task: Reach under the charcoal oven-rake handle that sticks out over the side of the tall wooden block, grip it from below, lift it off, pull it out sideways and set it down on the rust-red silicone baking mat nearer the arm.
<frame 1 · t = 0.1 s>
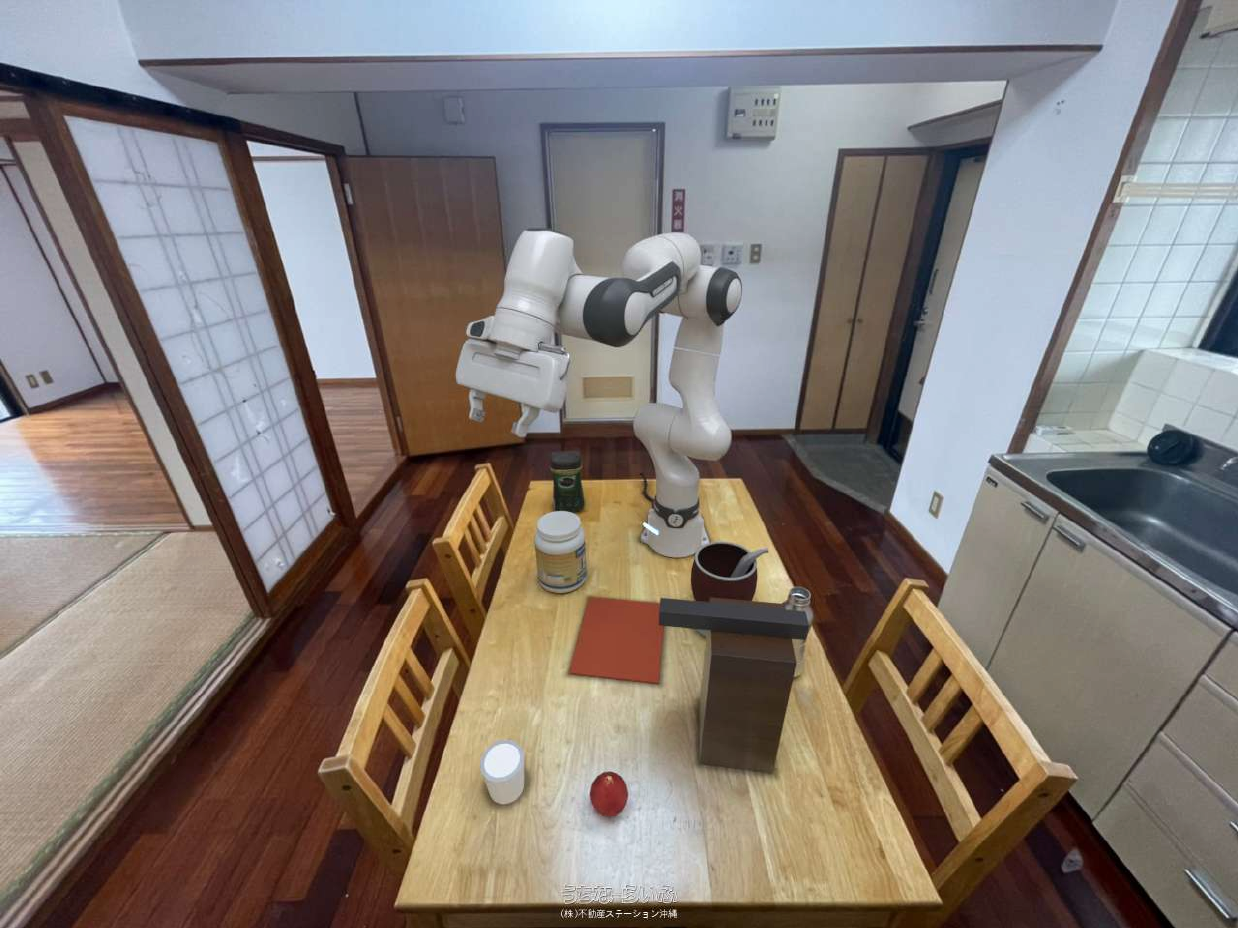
hand: (496, 428, 77), 54 cm above the table, tool tilted 30°, fingers open, 8 cm apart
mate gourd: (722, 620, 116), on the table
tall wooden block: (733, 735, 91), on the table
baking mat: (620, 637, 112), on the table
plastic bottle: (784, 669, 104), on the table
supplement tub: (562, 579, 129), on the table
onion: (609, 808, 81), on the table
white short cylinder: (507, 786, 84), on the table
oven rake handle: (730, 625, 80), point 26 cm above the table, touching tall wooden block
coffee jar: (569, 507, 159), on the table
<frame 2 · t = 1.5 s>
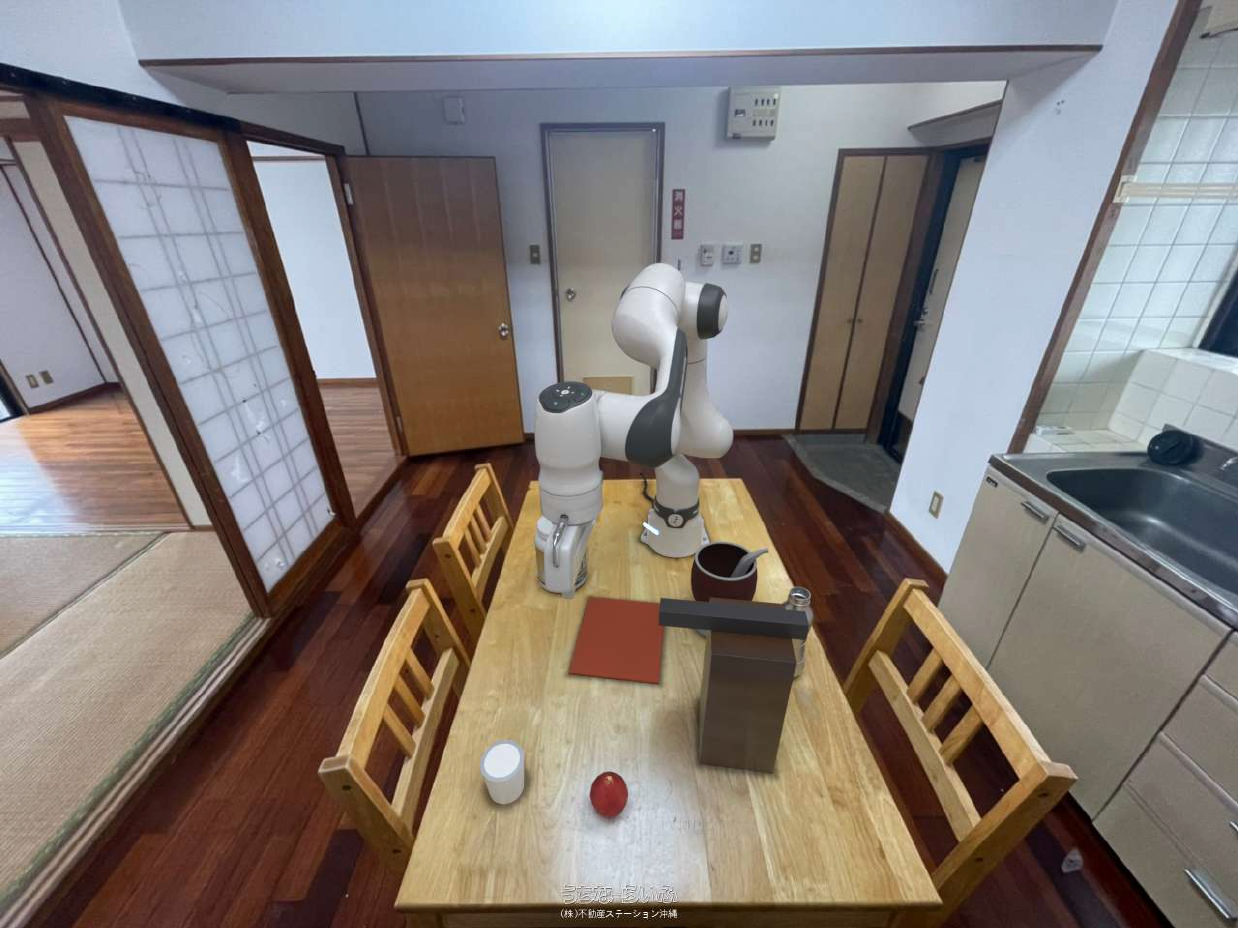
hand: (575, 574, 79), 33 cm above the table, tool pointing down, fingers open, 8 cm apart
nothing on the table moved.
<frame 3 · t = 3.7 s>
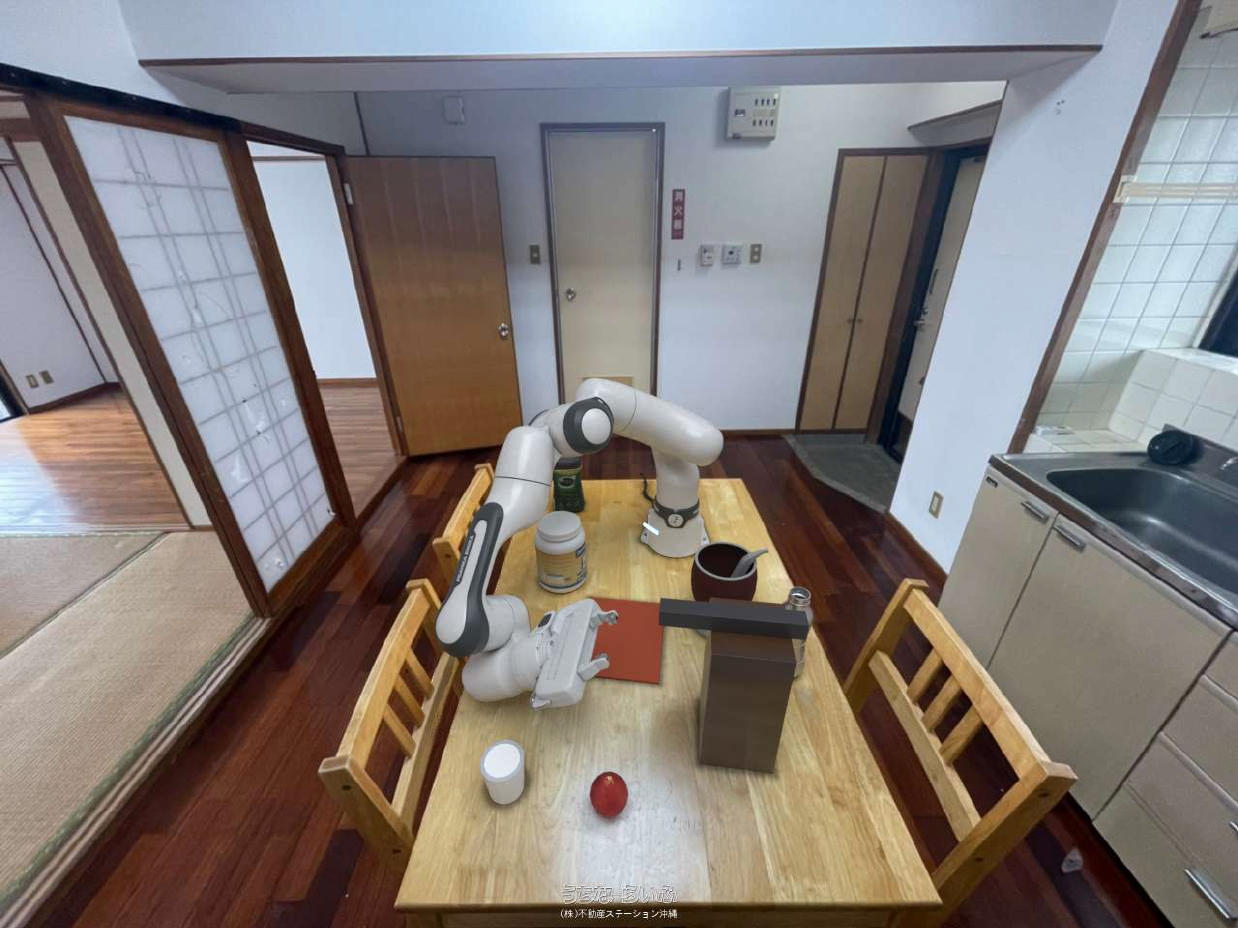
hand: (612, 636, 84), 21 cm above the table, tool pointing upward, fingers open, 8 cm apart
nothing on the table moved.
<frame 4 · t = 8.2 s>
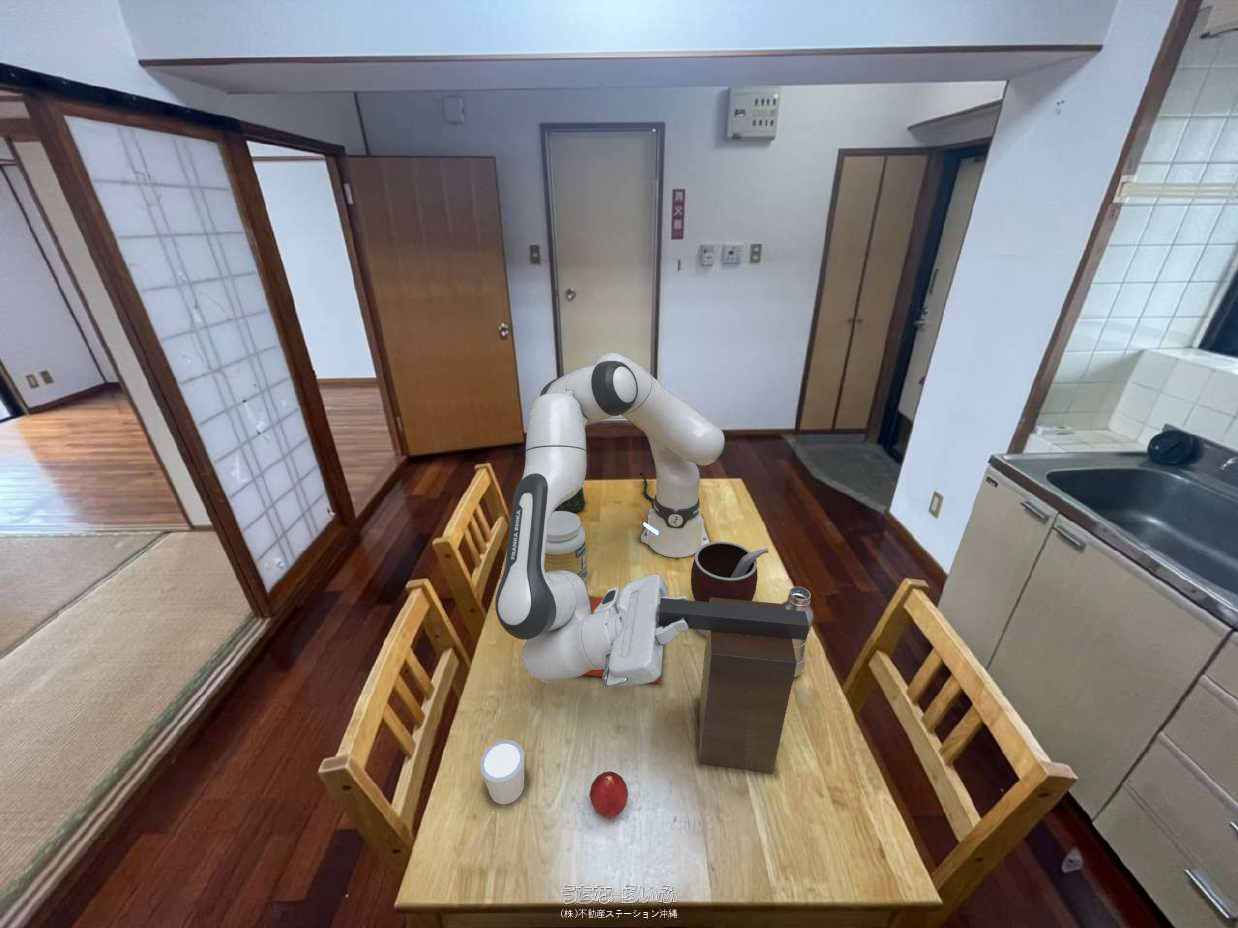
hand: (687, 611, 80), 28 cm above the table, tool pointing upward, fingers closed on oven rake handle, 3 cm apart
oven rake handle: (730, 625, 80), point 26 cm above the table, touching gripper, tall wooden block
everything else where it was.
when the fingers open (17 cm above the table, at t = 19.4 s): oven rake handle drops 15 cm, resting on baking mat.
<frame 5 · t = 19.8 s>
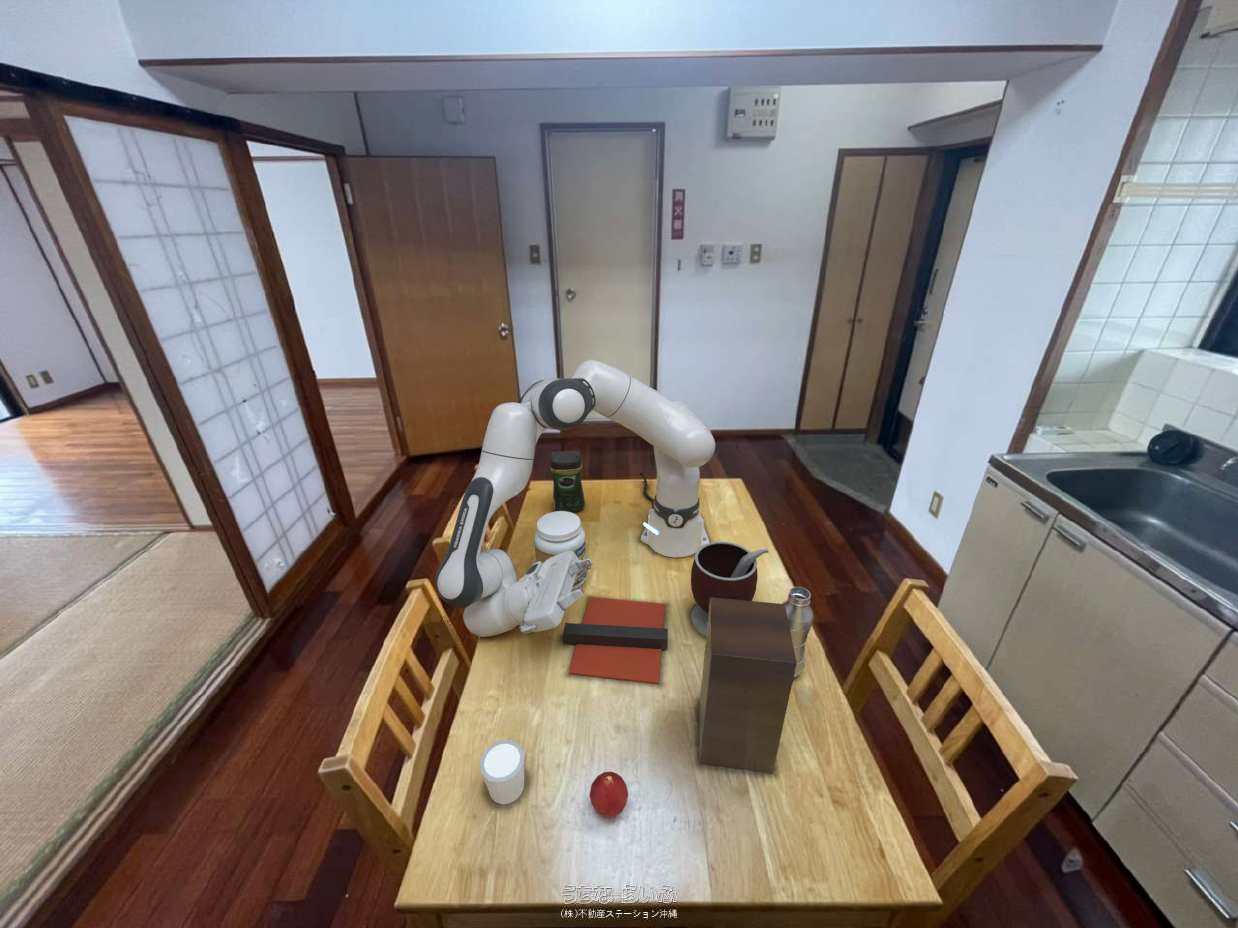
hand: (586, 576, 103), 17 cm above the table, tool pointing upward, fingers open, 7 cm apart
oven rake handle: (615, 640, 110), resting on baking mat
everything else where it was.
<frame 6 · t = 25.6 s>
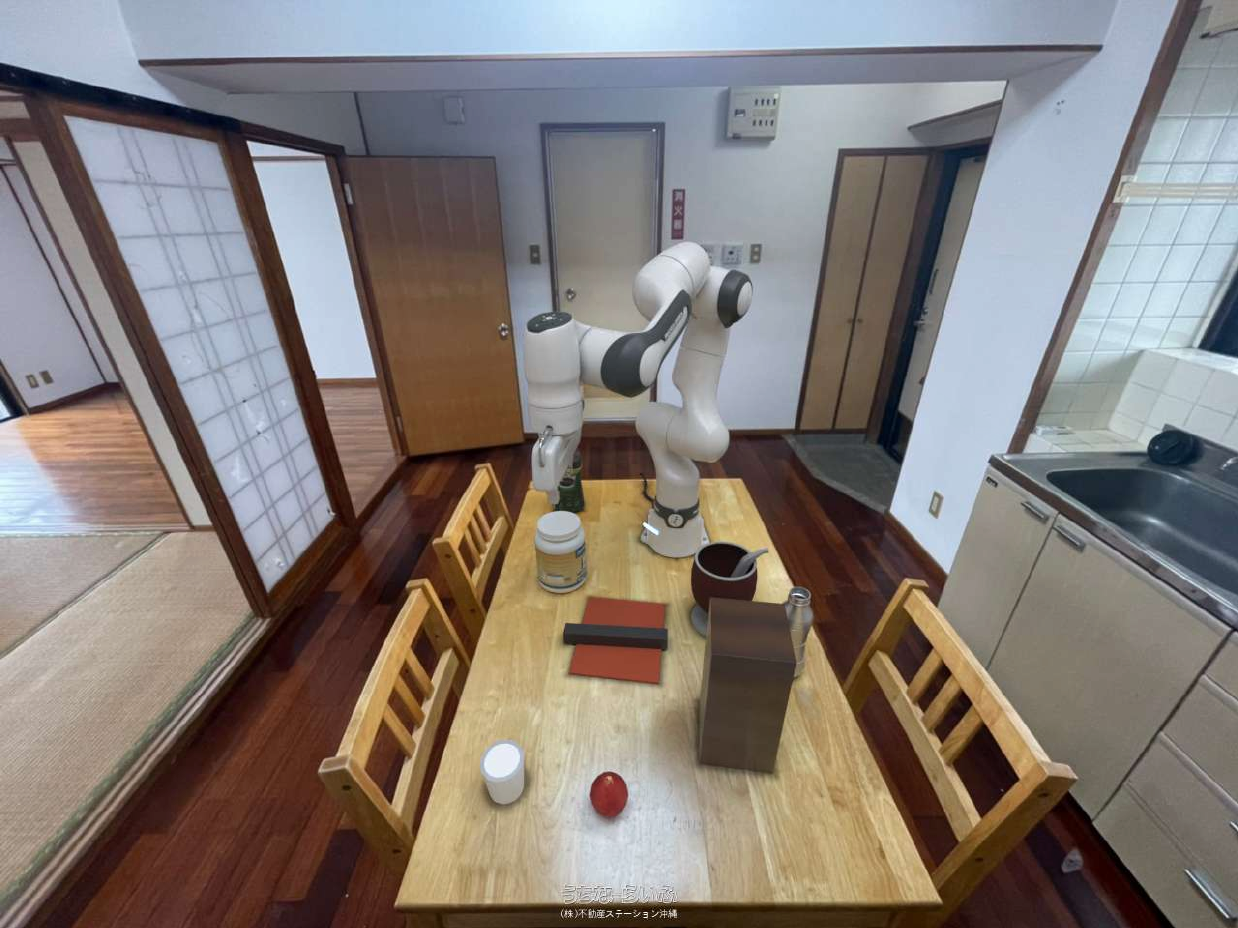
hand: (560, 487, 91), 39 cm above the table, tool pointing down, fingers open, 8 cm apart
nothing on the table moved.
at the end: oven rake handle inside the target area on the baking mat (1.9 cm from its centre), point 0.5 cm above the baking mat's base; the gripper is holding nothing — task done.
